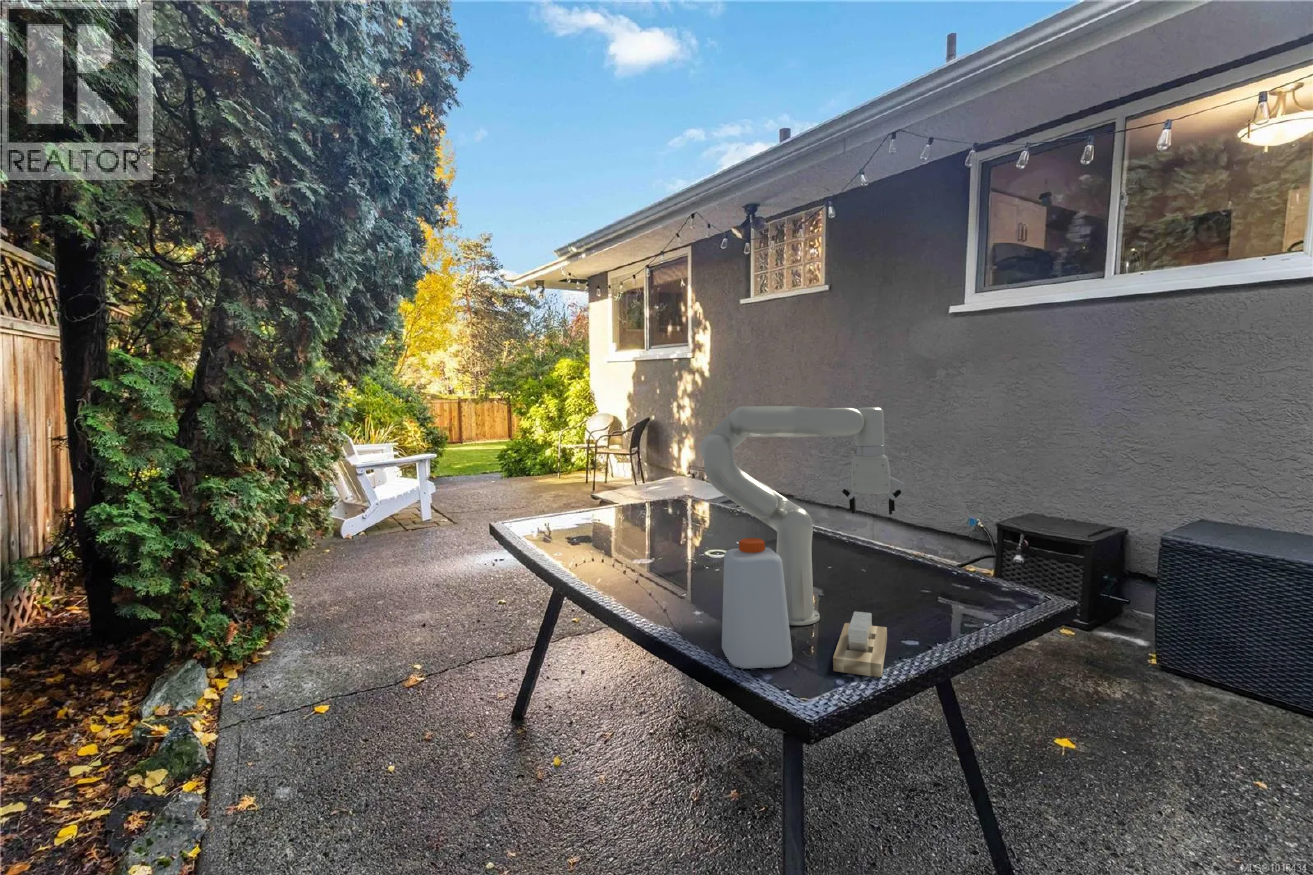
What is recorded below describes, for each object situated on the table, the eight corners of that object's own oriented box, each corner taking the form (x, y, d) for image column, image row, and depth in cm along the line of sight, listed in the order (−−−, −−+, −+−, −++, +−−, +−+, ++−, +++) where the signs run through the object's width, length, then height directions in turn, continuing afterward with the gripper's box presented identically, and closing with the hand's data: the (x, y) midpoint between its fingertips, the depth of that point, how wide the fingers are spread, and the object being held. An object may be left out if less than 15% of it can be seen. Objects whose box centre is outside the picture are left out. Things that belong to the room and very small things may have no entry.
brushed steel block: (849, 663, 132) (848, 629, 131) (855, 643, 143) (854, 611, 142) (868, 666, 130) (866, 631, 130) (872, 645, 141) (871, 613, 140)
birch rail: (833, 671, 128) (833, 657, 128) (845, 634, 148) (844, 622, 148) (881, 677, 124) (881, 664, 124) (887, 639, 144) (886, 627, 144)
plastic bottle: (797, 668, 131) (793, 545, 129) (731, 673, 130) (726, 550, 128) (778, 641, 146) (773, 531, 145) (719, 646, 145) (714, 535, 143)
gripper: (836, 453, 160) (838, 514, 161) (903, 452, 153) (905, 516, 154) (839, 451, 167) (841, 510, 168) (904, 450, 160) (906, 511, 161)
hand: (872, 513), depth 161 cm, fingers open, 9 cm apart
